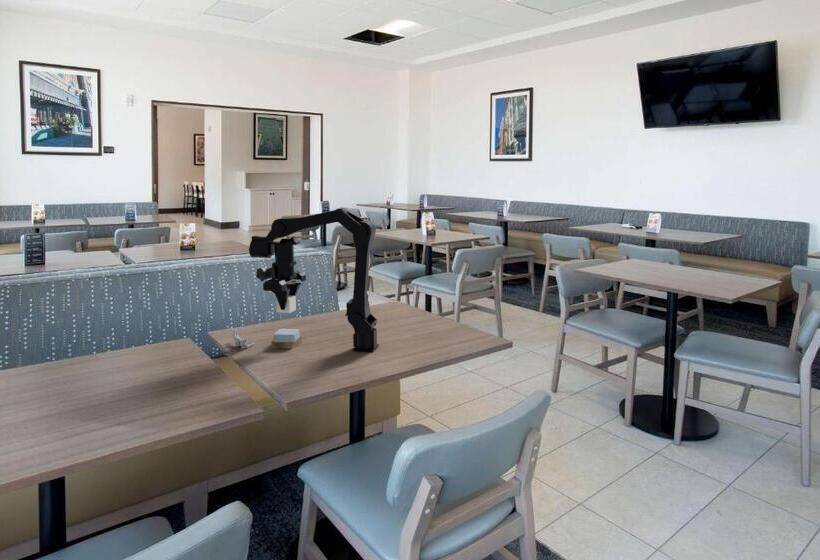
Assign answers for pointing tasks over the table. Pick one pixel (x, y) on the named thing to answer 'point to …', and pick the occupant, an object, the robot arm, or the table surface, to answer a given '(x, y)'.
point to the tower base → (286, 344)
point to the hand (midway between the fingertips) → (286, 307)
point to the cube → (287, 305)
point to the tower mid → (286, 335)
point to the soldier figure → (240, 340)
